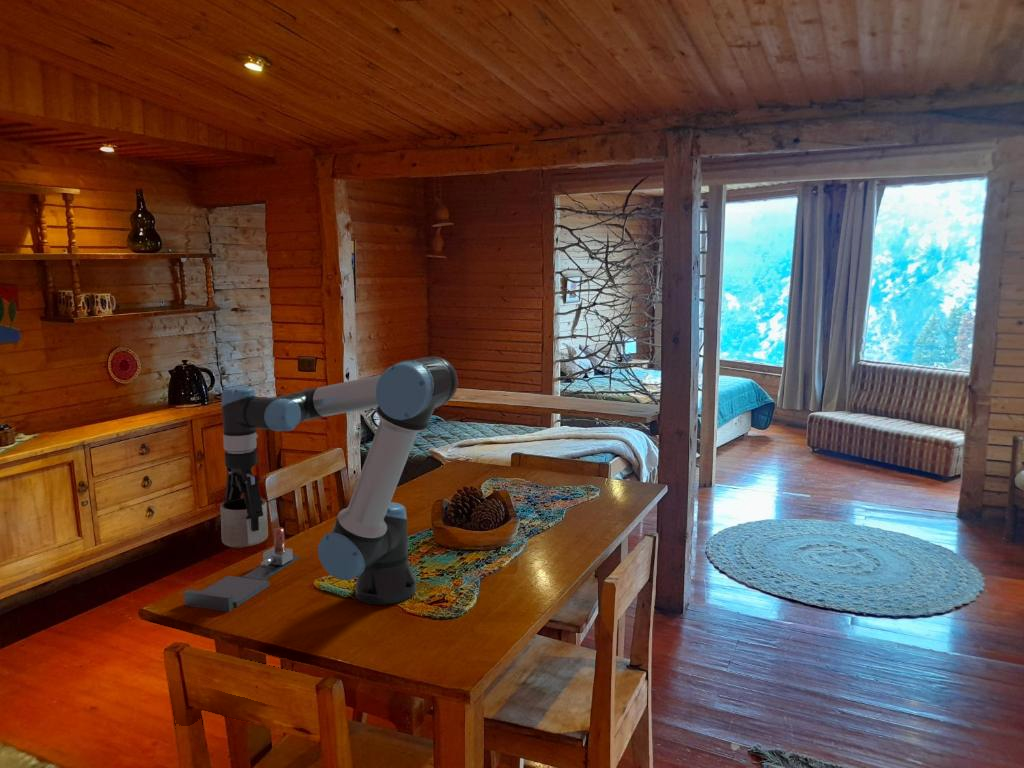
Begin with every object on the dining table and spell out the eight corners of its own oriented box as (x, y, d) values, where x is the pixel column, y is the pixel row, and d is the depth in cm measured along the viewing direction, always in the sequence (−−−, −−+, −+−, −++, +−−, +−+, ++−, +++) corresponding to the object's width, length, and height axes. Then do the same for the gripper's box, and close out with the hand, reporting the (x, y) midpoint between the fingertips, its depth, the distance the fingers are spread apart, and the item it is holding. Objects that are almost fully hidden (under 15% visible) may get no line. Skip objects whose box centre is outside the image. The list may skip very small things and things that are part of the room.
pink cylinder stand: (273, 570, 197) (271, 539, 195) (254, 568, 198) (252, 537, 197) (292, 558, 205) (291, 528, 204) (274, 556, 207) (272, 526, 206)
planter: (257, 549, 175) (255, 510, 174) (213, 547, 176) (211, 509, 175) (275, 533, 186) (273, 497, 185) (234, 531, 187) (232, 495, 185)
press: (229, 611, 175) (228, 598, 174) (185, 605, 179) (183, 591, 178) (309, 559, 207) (309, 547, 206) (270, 554, 211) (270, 543, 210)
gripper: (275, 456, 171) (279, 546, 175) (238, 439, 189) (242, 520, 192) (243, 462, 167) (248, 553, 170) (208, 443, 184) (213, 527, 187)
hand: (245, 536), depth 181 cm, fingers closed on planter, 11 cm apart
